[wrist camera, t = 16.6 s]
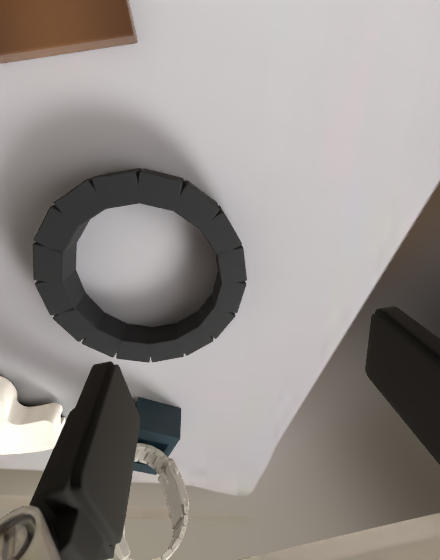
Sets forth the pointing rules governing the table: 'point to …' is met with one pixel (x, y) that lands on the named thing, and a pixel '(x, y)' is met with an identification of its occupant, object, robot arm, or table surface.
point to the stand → (62, 27)
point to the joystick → (27, 423)
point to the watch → (160, 467)
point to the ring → (85, 312)
